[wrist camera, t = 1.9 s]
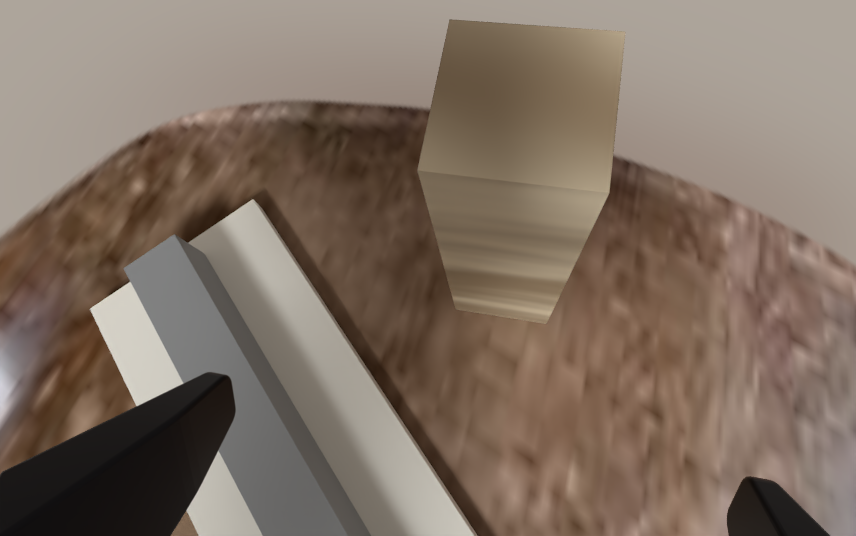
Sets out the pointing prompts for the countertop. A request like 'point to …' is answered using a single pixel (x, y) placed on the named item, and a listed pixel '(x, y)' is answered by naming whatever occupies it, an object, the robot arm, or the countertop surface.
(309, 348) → the ridge stand
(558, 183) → the brass post
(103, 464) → the robot arm
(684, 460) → the countertop surface
